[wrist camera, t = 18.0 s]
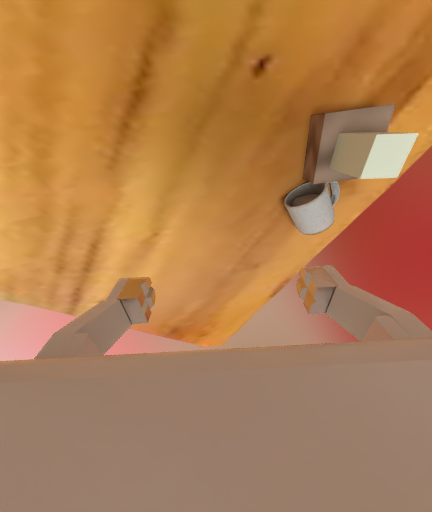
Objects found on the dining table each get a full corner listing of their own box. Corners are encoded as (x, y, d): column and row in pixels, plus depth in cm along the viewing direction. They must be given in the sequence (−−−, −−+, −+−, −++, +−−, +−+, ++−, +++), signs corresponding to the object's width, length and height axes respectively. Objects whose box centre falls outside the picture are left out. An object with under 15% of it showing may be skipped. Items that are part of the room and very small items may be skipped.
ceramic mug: (293, 227, 43) (308, 244, 37) (278, 198, 39) (292, 211, 33) (340, 200, 40) (365, 213, 33) (328, 165, 36) (354, 173, 30)
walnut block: (310, 115, 32) (325, 113, 28) (371, 107, 31) (395, 103, 27) (301, 177, 37) (313, 183, 33) (353, 171, 37) (371, 176, 33)
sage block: (339, 133, 29) (376, 134, 22) (371, 132, 29) (418, 133, 22) (329, 168, 32) (359, 178, 25) (358, 167, 32) (397, 177, 25)
